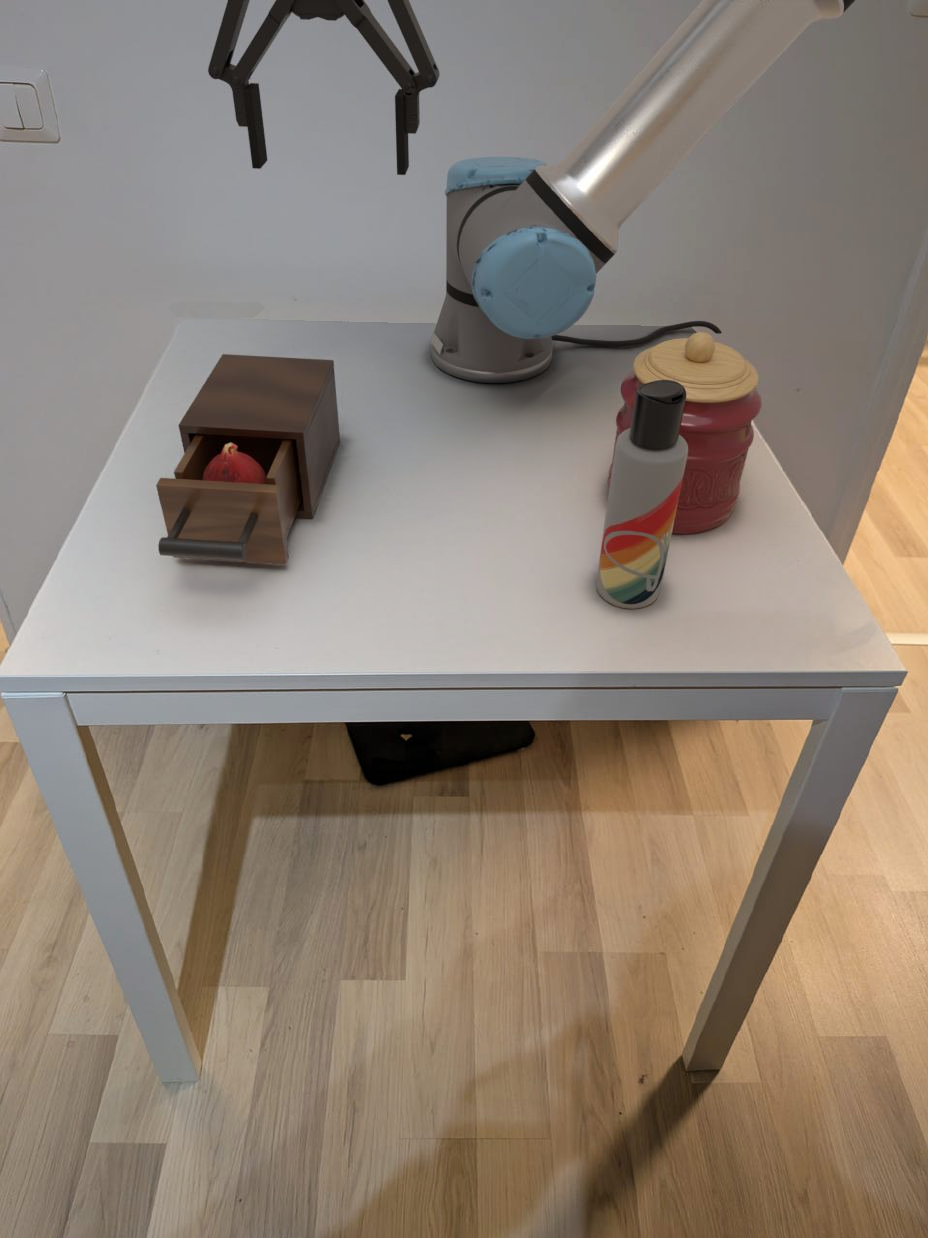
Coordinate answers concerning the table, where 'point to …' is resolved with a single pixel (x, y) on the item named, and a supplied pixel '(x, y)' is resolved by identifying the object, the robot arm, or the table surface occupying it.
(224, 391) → the cabinet
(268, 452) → the drawer
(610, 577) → the lotion bottle
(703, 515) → the kitchen canister
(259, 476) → the red pomegranate
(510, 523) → the table surface
